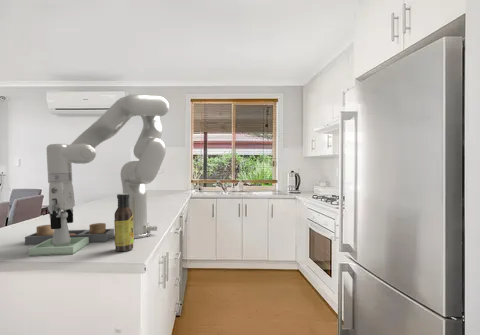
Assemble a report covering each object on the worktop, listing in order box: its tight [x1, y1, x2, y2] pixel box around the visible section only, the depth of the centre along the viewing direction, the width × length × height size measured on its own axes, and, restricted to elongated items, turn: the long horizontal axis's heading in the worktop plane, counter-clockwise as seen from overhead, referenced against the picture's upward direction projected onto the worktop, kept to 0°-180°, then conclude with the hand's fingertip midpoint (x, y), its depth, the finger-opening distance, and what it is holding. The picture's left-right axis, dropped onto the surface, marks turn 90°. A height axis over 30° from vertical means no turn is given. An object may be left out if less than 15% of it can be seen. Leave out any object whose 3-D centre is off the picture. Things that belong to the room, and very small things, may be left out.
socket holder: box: [24, 228, 115, 246], centre depth 124 cm, size 30×10×3 cm, turn 96°
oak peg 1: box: [35, 224, 54, 236], centre depth 123 cm, size 6×6×6 cm
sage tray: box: [28, 237, 90, 257], centre depth 111 cm, size 14×14×2 cm
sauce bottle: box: [113, 193, 135, 253], centre depth 109 cm, size 6×6×20 cm
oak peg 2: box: [89, 222, 107, 234], centre depth 125 cm, size 6×6×6 cm
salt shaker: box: [52, 210, 71, 247], centre depth 111 cm, size 6×6×13 cm
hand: (62, 225), depth 111 cm, fingers open, 9 cm apart
